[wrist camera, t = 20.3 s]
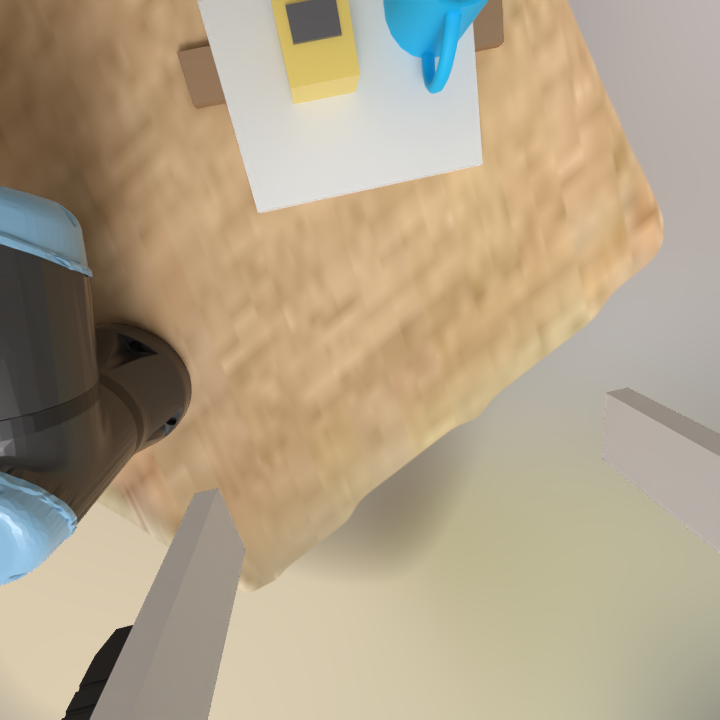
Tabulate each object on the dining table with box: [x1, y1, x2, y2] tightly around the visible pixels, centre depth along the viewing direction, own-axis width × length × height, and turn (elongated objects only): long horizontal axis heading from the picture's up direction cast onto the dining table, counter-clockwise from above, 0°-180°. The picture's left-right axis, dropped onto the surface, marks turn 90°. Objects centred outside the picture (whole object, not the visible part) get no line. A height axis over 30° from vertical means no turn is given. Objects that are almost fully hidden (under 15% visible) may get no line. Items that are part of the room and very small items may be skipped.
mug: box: [383, 0, 489, 94], centre depth 29 cm, size 12×8×8 cm
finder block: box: [271, 0, 360, 104], centre depth 30 cm, size 6×6×4 cm
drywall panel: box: [177, 0, 504, 213], centre depth 34 cm, size 30×17×1 cm, turn 102°
